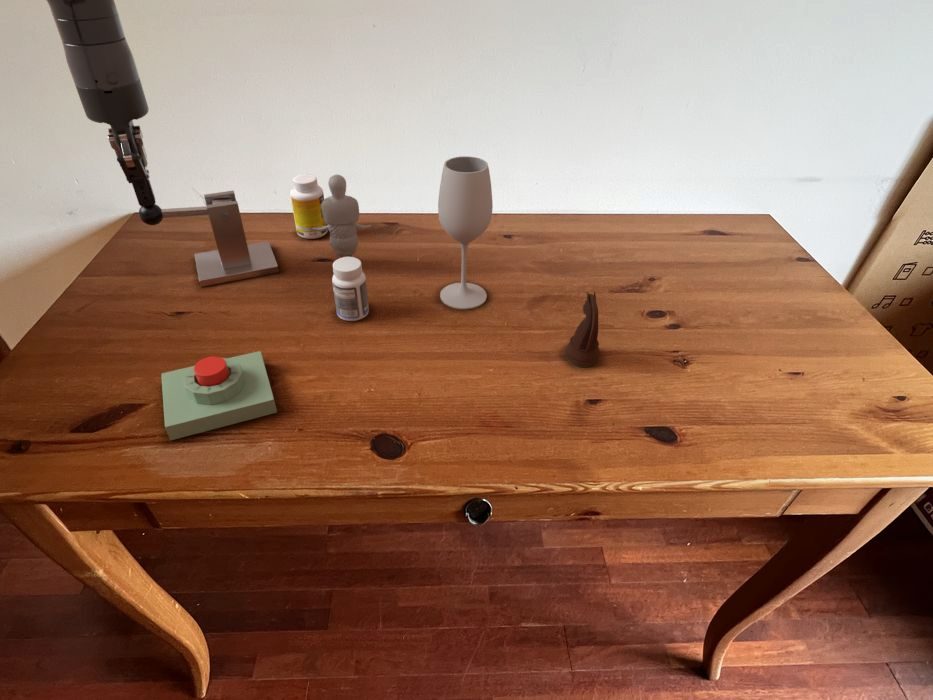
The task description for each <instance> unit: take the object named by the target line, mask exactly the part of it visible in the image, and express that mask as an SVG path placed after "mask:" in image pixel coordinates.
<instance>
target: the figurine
mask: <svg viewBox="0 0 933 700" xmlns="http://www.w3.org/2000/svg"><path fill="white" fill-rule="evenodd" d="M327 185H328V189H329V191H330V194H331V196H328V197H326V198H324V200H323V201H322V204H321V208H322V215H323V218H324V221H325V222H326V223H327V226H324V227H321V228H312V229H313V230H315V231H326V230H328V231H329V243H328V244H329V246H330V247H331V248H332V249H333V252H334V253H335V254H336V255H337V256H338V257H339V258H342V257H353V255H354V254H356V252H357V248H358V246H359V244H360V243H359V242H360V241H359V237H358V235H357V234H358V232H357V230H368V229H370V228H372V227H373V225H372V224H368V225H364V224H358V223H357V222H358V221H359V219H360V206H359V201H358V200H357V199H356V198H355V197H353V196H350V195H346V191H347V181H346V179H345V177H344V176H342V175H341V174H333V175H331V176H330V177H329V178H328V184H327Z"/></svg>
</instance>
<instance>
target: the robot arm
mask: <svg viewBox="0 0 933 700" xmlns="http://www.w3.org/2000/svg"><path fill="white" fill-rule="evenodd" d="M45 1H46V3H47V4H48V6H49V8H50V11H51V12H50V13H51V16H52V17H53V21H54V23H55V26H56V29H57V32H58V35H59V37H60V40H61V43H62V47H63V50H64V55H65V60H66V63H67V67H68V69H69V73H70V75H71V78H72V80H73V83H74V87H75V89H76V91H77V94H78V97H79V101H80V103H81V105H82V108H83V110H84V113H85V117H86V118H87V119H88V120H89V121H91V122H94V123H97V124H106V125H109V126H110V128H107V131H108V134H107V138H108V142H109V144H110V147H111V149H113V150H114V152H115V155H116V161H117V163H118V164H119V166H120V168H121V170H122V172H123V174H124V176H125V179H126V182H128V184H131V185H132V188H133V191H134V195H135V198H136V199H137V202H138V205H139V206H140V207H141V206H142V207H144V206H151V205H154V204H156V202H157V201H156V196H155V194H154V189H153V187H152V183H151V180H150V169H148V154H147V151H146V147H145V144H144V140H143V139H144V137H143V136H144V135H143V131H142V128H141V125H134V121H133V120H135V121H136V120H140V119H142V118H144V117H145V116H146V115H147V114H148V113H149V105H148V101H147V98H146V94H145V91H144V88H143V86H142V85H143V83H142V81H141V77H140V74H139V72H138V68H137V65H136V62H135V61H136V60H135V58H134V55H133V53H132V51H131V50H132V49H131V48H130V46H129V43H128V41H127V38H126V35H125V32H124V31H125V30H124V28H123V24H122V22H121V21H122V20H121V17H120V14H119V12H118V9H117V4H116V2H115V0H45Z"/></svg>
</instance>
